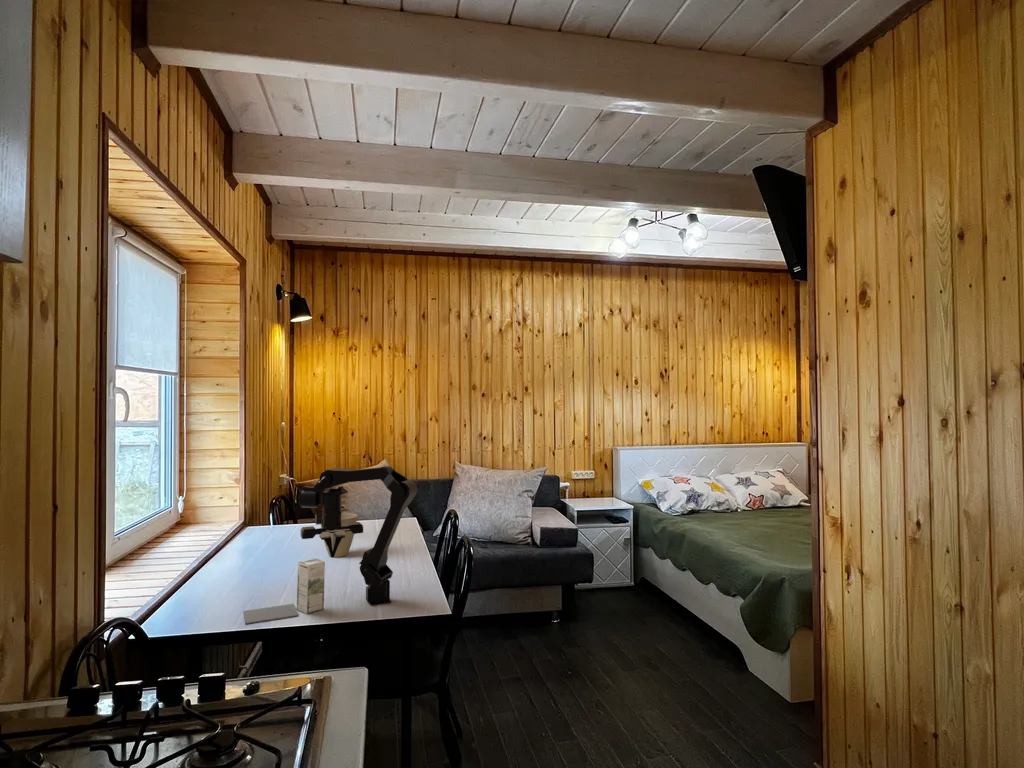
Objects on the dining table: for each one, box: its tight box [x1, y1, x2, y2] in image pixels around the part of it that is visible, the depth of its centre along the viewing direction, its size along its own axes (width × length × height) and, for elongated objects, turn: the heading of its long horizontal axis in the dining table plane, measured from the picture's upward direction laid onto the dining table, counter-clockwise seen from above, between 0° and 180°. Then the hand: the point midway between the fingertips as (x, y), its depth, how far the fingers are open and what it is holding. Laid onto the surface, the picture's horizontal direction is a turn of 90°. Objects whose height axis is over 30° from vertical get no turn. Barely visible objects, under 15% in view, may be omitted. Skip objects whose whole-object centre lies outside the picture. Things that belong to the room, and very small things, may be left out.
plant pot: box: [320, 512, 358, 558], centre depth 240 cm, size 15×15×16 cm
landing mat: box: [243, 603, 299, 625], centre depth 171 cm, size 14×11×1 cm
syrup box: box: [296, 558, 326, 615], centre depth 175 cm, size 6×6×14 cm
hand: (332, 557), depth 186 cm, fingers closed
